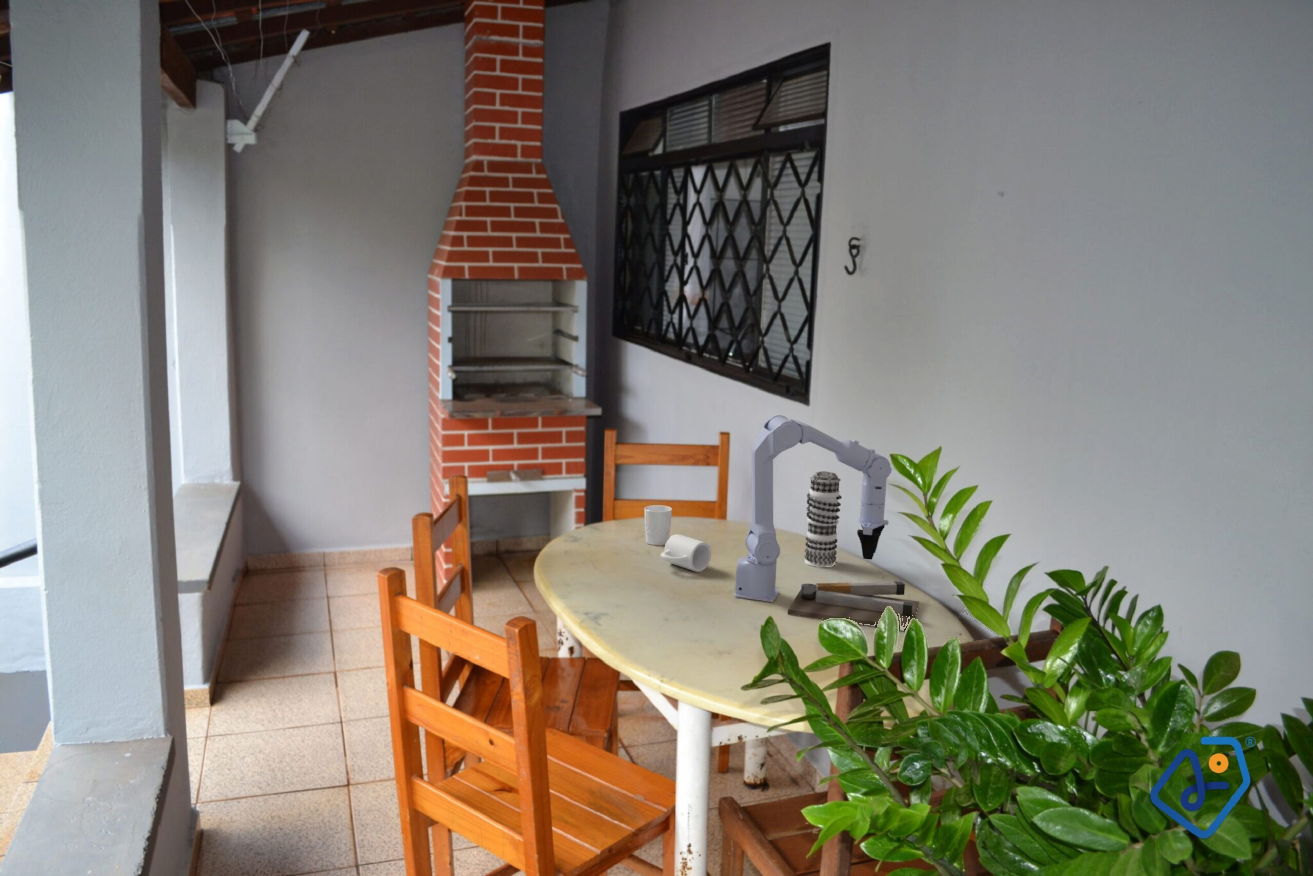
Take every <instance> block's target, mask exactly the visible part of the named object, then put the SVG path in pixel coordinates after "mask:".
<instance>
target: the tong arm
mask: <svg viewBox="0 0 1313 876" xmlns="http://www.w3.org/2000/svg"><path fill="white" fill-rule="evenodd" d="M905 589H906V584H905V583H904V582H903V581H891V582H890V581H889V582H887V581H886V582H852V583H851V582H850V583H849V582H825V583H824V582H821V583H820V582H819V583H815V584H813V583H802V584H801V585H800V590H801V598H803V599H806V600H813V599H816V592H817V591H818V590H821V591H828V592H835V593H843V594H850V595H857V596H858V595H875V596H885V595H886V596H889V595H890V596H891V595H893V596H895V595H896V596H904V595H905Z"/></svg>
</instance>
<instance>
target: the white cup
mask: <svg viewBox="0 0 1313 876" xmlns="http://www.w3.org/2000/svg"><path fill="white" fill-rule="evenodd" d="M672 512H673V508H672V507H670V506H668V505H663V504H662V505H661V504H656V505H655V504H653V505H652V504H651V505H647V506H645V507H644V533H645V543H646V544H648V545H651V546H652V545H653V546H665V544H666V542H667V540H668V539H669V538H670V533H671V525H672V514H673V513H672Z"/></svg>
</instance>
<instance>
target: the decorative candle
mask: <svg viewBox="0 0 1313 876" xmlns="http://www.w3.org/2000/svg"><path fill="white" fill-rule="evenodd" d="M812 475H813V476H811V477H810V478H809V479H810V488H809V492H808V493H807V494H806V497H807V499H806V504H807V506H806V511H807V512H806V517H807V518H806V521H807V523H808V524H807V525H808V527H807V532H806V536H805V541H806V542H805V544H804V545H805V549H804V553H805V554H804V561H805V562H804V564H805V563H806V564H805V565H807V564H809V565H812V566H818V567H826V566H832V565H833V564H834V562H836V561H837V553H838V552H837V550H836V549H837V547H838V545H837V543H838V539H837V535H838V534H837V529H838V528H837V525H838V524H839V519H840V516H839V515H838V513H839V512H841V509H840V508H839V507H840V506H841V502H840V501H838V500H840V499H842V495H840V482H841V478H839V477H838V474H836V473H835V472H832V471H826V470H825V471H823V470H822V471H817V472H815V473H814V474H812ZM809 565H808V566H809ZM812 566H811V567H812Z"/></svg>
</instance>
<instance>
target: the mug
mask: <svg viewBox="0 0 1313 876" xmlns="http://www.w3.org/2000/svg"><path fill="white" fill-rule="evenodd" d="M660 558H661V559H662V560H663V561H665V562H668V563H670V564H672V565H675V566H678V567H682V568H684V569H686V570H690V571H693V572H696V573H701V572H703V571H705V569H706V568H707V567H708V565H709V564H710V562H711V559H712V549H711V546H710V545H709V544H708V542H705V541H701V540H699V539H696V538H693V537H689V536H686V535H683V534H679V533H676V534H672V535H671V536H669V539H668V540H667V542H666V544H665V545H664V549H663V551H662V552H661V553H660Z"/></svg>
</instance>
